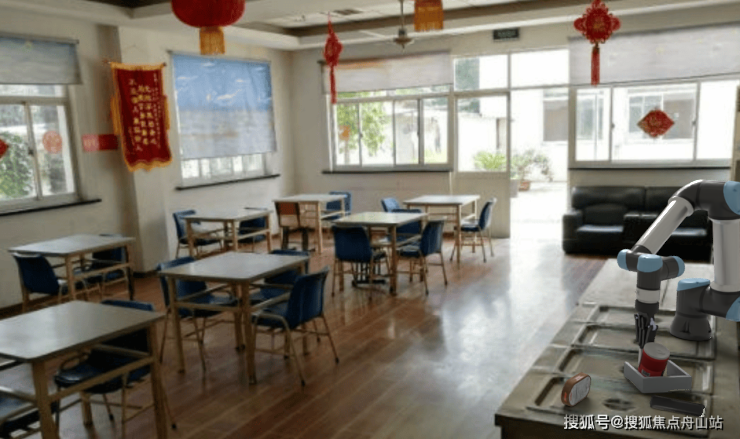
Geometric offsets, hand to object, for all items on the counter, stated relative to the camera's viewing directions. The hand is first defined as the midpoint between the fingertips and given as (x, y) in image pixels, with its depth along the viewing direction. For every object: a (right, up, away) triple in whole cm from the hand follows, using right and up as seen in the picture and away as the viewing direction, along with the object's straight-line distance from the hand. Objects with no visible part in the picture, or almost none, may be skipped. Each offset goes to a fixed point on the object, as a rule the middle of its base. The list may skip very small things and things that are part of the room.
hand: (642, 365), depth 207 cm
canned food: (+1, -2, -4) cm, 4 cm away
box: (+1, -4, -8) cm, 9 cm away
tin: (-30, -7, -19) cm, 36 cm away
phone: (-1, -7, -24) cm, 26 cm away
